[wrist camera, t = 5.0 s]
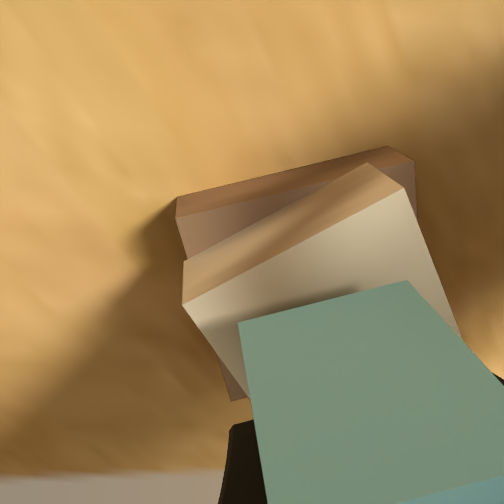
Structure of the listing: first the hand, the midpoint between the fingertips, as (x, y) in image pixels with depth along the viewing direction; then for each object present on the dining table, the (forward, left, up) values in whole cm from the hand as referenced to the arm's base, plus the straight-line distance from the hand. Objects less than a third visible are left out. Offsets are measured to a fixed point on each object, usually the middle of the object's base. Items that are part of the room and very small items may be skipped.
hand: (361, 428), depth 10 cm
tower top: (0, 0, -6) cm, 6 cm away
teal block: (0, 0, -2) cm, 2 cm away
